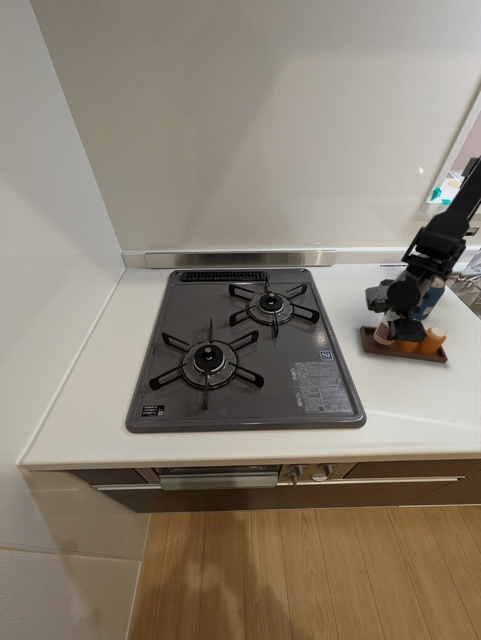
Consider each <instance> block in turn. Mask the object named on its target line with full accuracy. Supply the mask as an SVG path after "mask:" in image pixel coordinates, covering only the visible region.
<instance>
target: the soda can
mask: <svg viewBox="0 0 481 640" xmlns="http://www.w3.org/2000/svg"><path fill="white" fill-rule="evenodd" d="M446 286H447V283H446V282H445V281H444V280H443V279H441V278H439V277H436V279H435V280H434V282H433V283H432V285H431V287H430V288H429V290H428V292H429V294H430V297H429V298H428V299H422V301H421V303H420V304H419V307H420V309H421V311H420V312H419V313H412V316H413V318H415V319H416V320H417V321H423V320H425V319H427V318H428V317H429V315H431V313H432V311H433V310H434V308H435V307H436V305H437V304H438V302H439V301H440V299H441V298H442V296H443V295H444V293H446Z"/></svg>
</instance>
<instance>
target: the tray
mask: <svg viewBox="0 0 481 640" xmlns="http://www.w3.org/2000/svg"><path fill="white" fill-rule="evenodd" d="M377 327H378V326H369V325H361V326H360V328H359V333H360V339H361V344H362V349H363V353H364V354H373V355H380V356H387V357H393V358H402V359H409V360H414V361H415V360H417V361H423V362H430V363H438V364H446V363H447V362H448V361H449V359H448V357H447V354H446V352H445V349H444V348H443V344H442V345H441V346H440V347H439V348H438V350H437V351H436V352H435V353H434V354H433V355H425V354H422V353H421V352H419V351H418V350H417V348H415V349H414V351H413V352H410V353H407V352H403V351H401V350H400V349H399V348H398V347H397V346H396V341H397V340H396V339H395V340H394V341H393V342H392V343H391V344H388V345H385V344H381V343H379V342H378V341H376V340H375V338H374V333H375V331H376V329H377Z"/></svg>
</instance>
